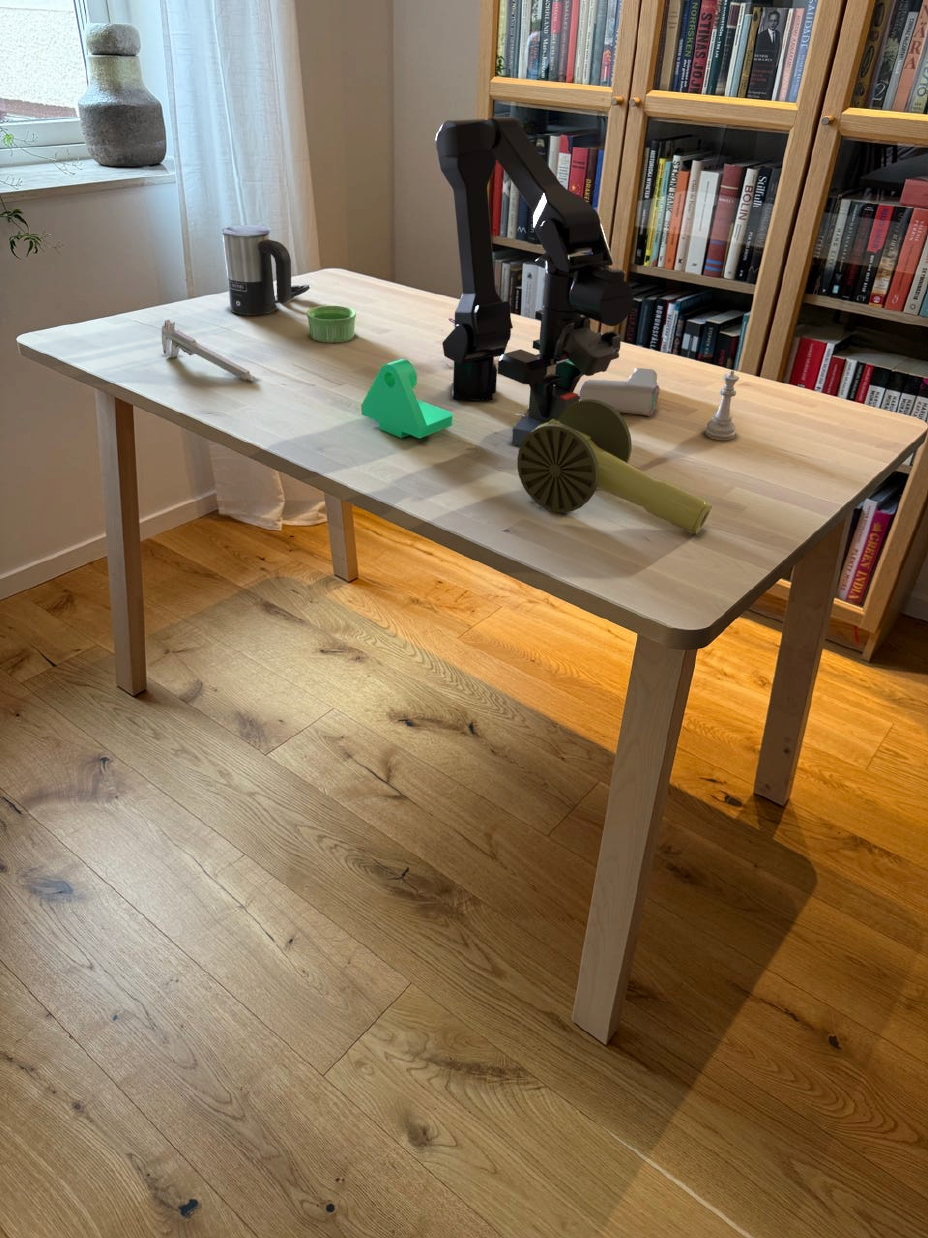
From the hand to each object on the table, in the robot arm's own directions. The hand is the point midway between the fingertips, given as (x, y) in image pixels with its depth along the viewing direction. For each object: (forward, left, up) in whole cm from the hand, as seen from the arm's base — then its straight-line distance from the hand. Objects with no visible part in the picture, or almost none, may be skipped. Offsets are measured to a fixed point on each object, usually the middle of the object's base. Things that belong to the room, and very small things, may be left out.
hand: (552, 414), depth 137 cm
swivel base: (+1, 0, -4) cm, 4 cm away
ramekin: (-36, +44, -4) cm, 57 cm away
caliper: (-55, +25, -4) cm, 61 cm away
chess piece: (+26, +3, -4) cm, 26 cm away
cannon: (+6, -22, -4) cm, 23 cm away
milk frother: (-50, +62, -4) cm, 79 cm away
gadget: (0, 0, -1) cm, 1 cm away
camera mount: (-21, +3, -4) cm, 22 cm away
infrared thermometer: (+13, +17, -4) cm, 21 cm away
